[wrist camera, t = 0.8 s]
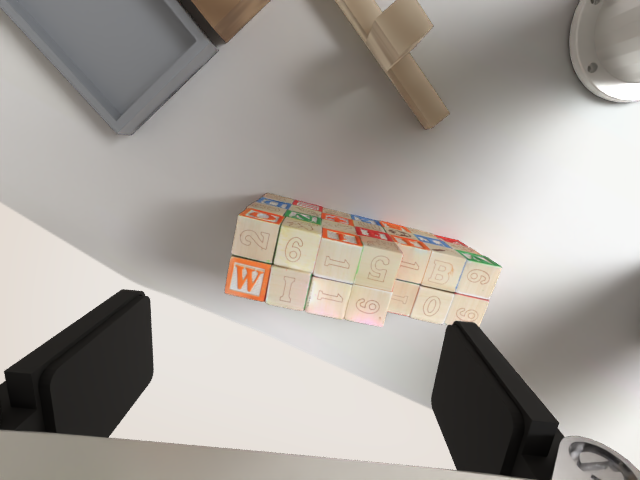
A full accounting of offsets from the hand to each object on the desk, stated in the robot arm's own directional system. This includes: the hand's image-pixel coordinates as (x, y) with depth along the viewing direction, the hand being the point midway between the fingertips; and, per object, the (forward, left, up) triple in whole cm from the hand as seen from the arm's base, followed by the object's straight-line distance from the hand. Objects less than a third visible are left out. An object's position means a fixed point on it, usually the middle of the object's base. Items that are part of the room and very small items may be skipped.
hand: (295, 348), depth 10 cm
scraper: (-14, -7, -26) cm, 31 cm away
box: (+4, -27, -26) cm, 38 cm away
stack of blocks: (-1, +6, -26) cm, 27 cm away
